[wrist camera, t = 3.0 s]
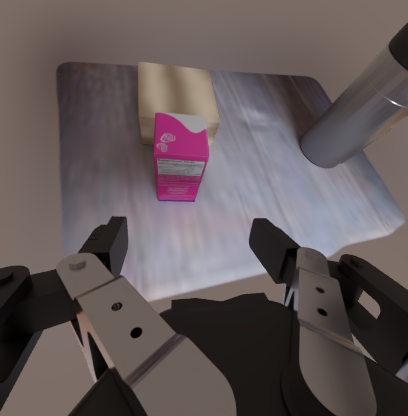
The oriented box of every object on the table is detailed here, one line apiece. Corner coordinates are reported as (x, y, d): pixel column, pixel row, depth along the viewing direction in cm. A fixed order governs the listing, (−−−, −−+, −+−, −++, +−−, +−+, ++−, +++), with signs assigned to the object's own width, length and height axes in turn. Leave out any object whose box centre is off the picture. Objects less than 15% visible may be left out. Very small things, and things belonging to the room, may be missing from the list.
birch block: (202, 100, 39) (209, 70, 34) (211, 147, 35) (219, 121, 30) (141, 95, 36) (138, 61, 31) (142, 145, 32) (138, 116, 27)
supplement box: (157, 169, 31) (155, 108, 20) (193, 171, 32) (209, 115, 22) (156, 201, 28) (152, 152, 18) (195, 202, 30) (212, 157, 19)
